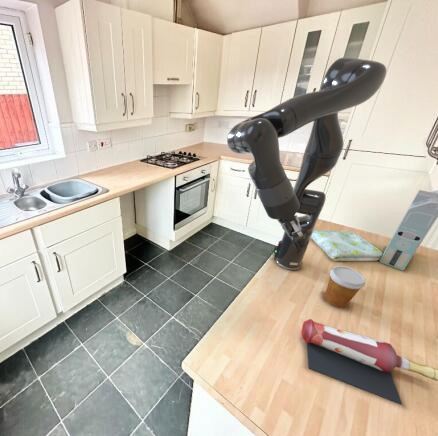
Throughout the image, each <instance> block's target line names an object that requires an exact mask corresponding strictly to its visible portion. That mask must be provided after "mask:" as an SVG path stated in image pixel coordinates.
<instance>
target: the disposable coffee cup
mask: <svg viewBox="0 0 438 436" xmlns="http://www.w3.org/2000/svg"><path fill="white" fill-rule="evenodd" d="M365 286H366V279H365V277H364V275H363V274H361V273H360V272H359V271H357V270H355V269H354V268H351V267H348V266H342V265H337V266H334V267H333V268H331V269H330V270H329V278H328V281H327V286H326V290H325V294H324V299H325V301H326V302H327V303H328V304H330V306H331V305H332V306H333V307H336V308H340V309H342V308H346V307H347V305H348V304H349V303H350V302H351V301H352V299H354V297H355V296H356V295H357V293H358V292H360V291H361V289H363V288H364V287H365Z"/></svg>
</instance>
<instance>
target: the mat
mask: <svg viewBox="0 0 438 436" xmlns="http://www.w3.org/2000/svg"><path fill="white" fill-rule="evenodd" d="M306 351H307V352H306V353H307V366H308V369H309V370H312V371H314V372H317V373H320V374H323V375H325V376H327V377H329V378H332V379H335V380H337V381H340V382H342V383H344V384H348V385H350V386H353V387H355V388H357V389H360V390H363V391H366V392H368V393H370V394H373V395H376V396H378V397H381V398H384V399H386V400H388V401H390V402H394V403H396V404H398V405H402V404H403V403H402V401H401V398H400V395H399V392H398V390H397V386H396V384H395V380H394V378H393V376H392V371H391V372H389V373H385V372H383V371H381V370H378V369H376V368H373V367H371V366H368V365H365V364H363V363H360V362H358V361H356V360H353V359H351V358H349V357H346V356H344V355H341V354H339V353H336V352H334V351H331V350H329V349H326V348H324V347H321V346H318V345H316V344H313V343H306Z"/></svg>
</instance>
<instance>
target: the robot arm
mask: <svg viewBox="0 0 438 436" xmlns="http://www.w3.org/2000/svg"><path fill="white" fill-rule="evenodd" d="M386 76H387V66H386V65H385V64H384V63H381V62H380V61H376V60H371V59H361V58H356V57H345V56H343V57H340V58H338V59H335V61H334V62H333V63H331V65H330V66H329V67H328V68H327V71H326V72H325V74H324V77H323V79H322V82H321V85H320V88H319V90H318V91H317V90H316V91H312V92H311V91H310V92H307V93H302V94H299V95H296V96H293V97H291V98H289V99H286V100H285V101H283V102H280V103H279V104H277V105H275V106H274V107H272V108H271V109H268V110H267V111H264V112H262V113H260V114H257V115H254V116H252V117H249V118H247V119H245V120H242V121H240V122H238V123H237V124H235V125H234V126H233V127H232V128H230V130H229V132H228V134H227V139H226V141H227V143H226V144H227V147H228V148H229V150H230V151H231V152H233V153H235V154H239V155H247V154H248V155H249V154H250V155H252V156H253V161H251V162H250V164H249V165H248V168H247V169H248V170H247V172H248V174H249V177H250V179H251V181H252V183H253V185H254V188H255V191H256V193H257V196H258V198H259V201H260V202H261V204H262V207H263V208H264V210H265V213H266V215H267V216H268V218H270V219H272V220H276V221H277V222H278V223H279V224H280V227H281V228H282V230H283V231H284V232H283V234H282V237H281V240H279V241H278V244H277V245H276V246H274V248H273V251H272V252H273V254H274V256H273V260H274V261H275V262H276V264H277V265H278V266H279V267H281V268H283V269H285V270H289V271H296V270H300V269H301V266H302V262H303V260H304V258H305V254H306V252H307V249H308V247H309V244H310V241H311V239H312V238H311V236H312V233H313V232H314V231H315V227H316V224H317V222H318V219H319V217H320V216H321V215H320V214H321V212H323V211H322V210H323V209H324V205H325V203H326V197H327V196H326V193H325V192H324V191H319V190H313V189H309V188H307V187H308V186H310V185H311V184H313V182H315V181H316V180H318V179H320V178H322V177H323V176H325V175H327V174H328V173H329V172H330V171H332V170H333V169H334V168H335V167H336V165H337V163H338V161H339V159H340V157H341V154H342V152H343V149H344V146H345V145H344V144H345V143H344V136H343V131H342V128H341V125H340V120H339V112H343V111H345V110H348V109H351V108H354V107H357V106H359V105H362V104H365V103H366V102H367V101H368V100H370V99H371V98H372V97H373V96H375V95H376V93H377V92H378V91H379V89H381V87H382V85H383V83H384V81H385V79H386ZM310 123H312V127H311V129H310V130H311V131H310V133H309V138H308V140H307V143H306V146H305V148H304V153H303V156H302V160H301V163H300V164H301V165H300V168H299V170H298V171H299V172H298V175H297V177H296V180H295V183H294V186H293V185H292V182H291V181H290V179H289V177H288V176H287V173H286V171H285V169H284V166H283V164H282V162H281V157H280V155H281V154H280V142H279V139H281V138H283V137H286V136H288V135H290V134H292V133H293V132H295V131H297V130H300V129H301V128H302V127H304V126H306V125H308V124H310ZM297 214H301V215H300V216H298V215H297Z"/></svg>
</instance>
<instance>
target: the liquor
mask: <svg viewBox="0 0 438 436" xmlns="http://www.w3.org/2000/svg"><path fill="white" fill-rule="evenodd" d="M301 337H302V338H303V340H304V342H305V343H306V344H307V343H313V344H316V345H318V346H321V347H324V348H326V349H329V350H331V351H334V352H336V353H339V354H341V355H344V356H346V357H349V358H351V359H353V360H356V361H358V362H360V363H363V364H365V365H368V366H371V367H373V368H376V369H378V370H381V371H383V372H385V373H389V372H391V373H392V372H393V371H394V370H395V368H398V369H401V370H405V371H408V372H412V373H416V374H418V375H421V376H422V377H424V378H428V379H430V380H434V381H436V382H437V381H438V369H437V368H435V367H433V366H429V365H425V364H420V363H417V362H415V361H413V360H410V359H408V358H406V357H403V356H401V355H398V354H397V352H396V350H395V348H394V347H393V346H392V344H391V343H389V342H386V341H382V340H378V339H375V338H371V337H368V336H365V335H361V334H357V333H354V332H350V331H346V330H343V329H339V328H336V327H333V326H329V325H326V324H322V323H319V322H316V321H314V320H313V319H312V318H309V319H307V320H305V321H303V323H302V328H301Z"/></svg>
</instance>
